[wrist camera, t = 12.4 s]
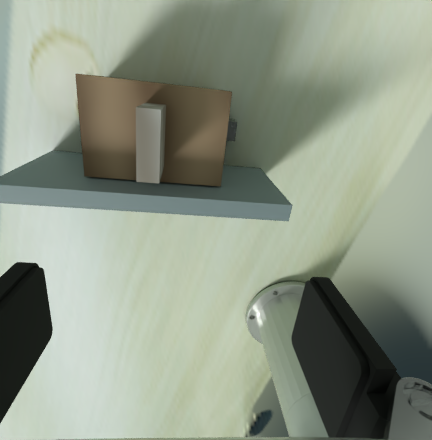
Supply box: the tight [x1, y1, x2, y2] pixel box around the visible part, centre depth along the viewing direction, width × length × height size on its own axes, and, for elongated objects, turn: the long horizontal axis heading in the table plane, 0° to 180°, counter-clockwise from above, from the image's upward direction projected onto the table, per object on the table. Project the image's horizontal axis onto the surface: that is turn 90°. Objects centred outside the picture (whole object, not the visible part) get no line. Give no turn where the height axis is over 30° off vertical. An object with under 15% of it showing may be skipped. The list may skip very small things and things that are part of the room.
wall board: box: [0, 151, 292, 221], centre depth 29 cm, size 24×2×12 cm, turn 83°
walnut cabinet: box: [76, 74, 232, 186], centre depth 26 cm, size 12×8×14 cm, turn 84°
